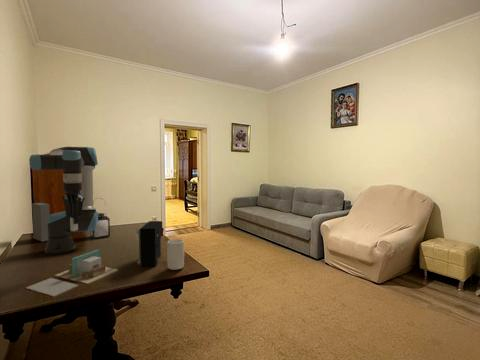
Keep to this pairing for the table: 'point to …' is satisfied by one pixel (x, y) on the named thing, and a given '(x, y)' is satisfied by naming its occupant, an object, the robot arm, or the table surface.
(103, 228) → the lantern
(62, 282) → the mat
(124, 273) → the table surface
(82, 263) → the white brown box
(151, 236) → the electrical component
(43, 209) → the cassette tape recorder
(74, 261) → the teal arch
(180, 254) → the white can
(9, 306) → the table surface
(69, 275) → the clamp base
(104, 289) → the table surface
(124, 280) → the table surface
